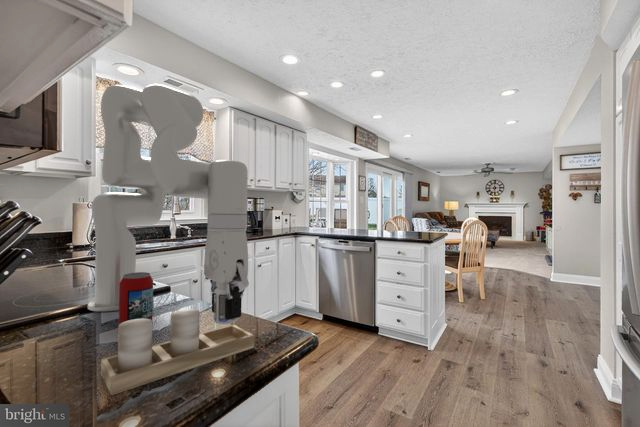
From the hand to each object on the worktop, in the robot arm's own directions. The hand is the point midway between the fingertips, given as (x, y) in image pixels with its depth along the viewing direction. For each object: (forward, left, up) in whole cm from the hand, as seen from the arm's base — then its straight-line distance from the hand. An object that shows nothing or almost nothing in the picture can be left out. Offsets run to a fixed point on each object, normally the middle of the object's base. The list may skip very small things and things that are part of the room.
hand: (226, 313), depth 62 cm
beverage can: (-24, -10, -7) cm, 27 cm away
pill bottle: (0, 0, -2) cm, 2 cm away
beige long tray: (0, -8, -7) cm, 10 cm away
